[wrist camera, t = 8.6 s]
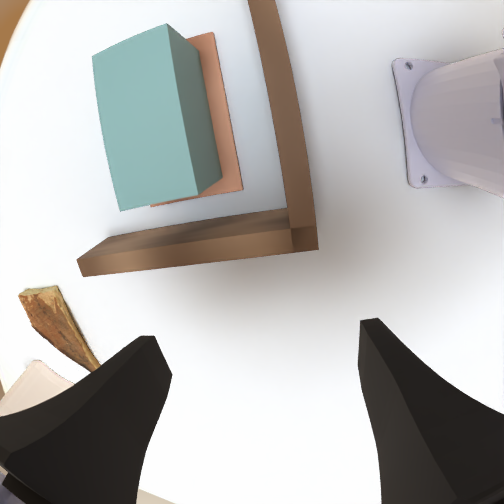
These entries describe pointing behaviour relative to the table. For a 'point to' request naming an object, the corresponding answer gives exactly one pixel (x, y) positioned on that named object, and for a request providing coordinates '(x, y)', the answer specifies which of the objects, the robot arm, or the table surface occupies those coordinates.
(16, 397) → the jar
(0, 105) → the table surface
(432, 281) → the table surface
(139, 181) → the teal block
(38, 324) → the shard
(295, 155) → the corner arena
